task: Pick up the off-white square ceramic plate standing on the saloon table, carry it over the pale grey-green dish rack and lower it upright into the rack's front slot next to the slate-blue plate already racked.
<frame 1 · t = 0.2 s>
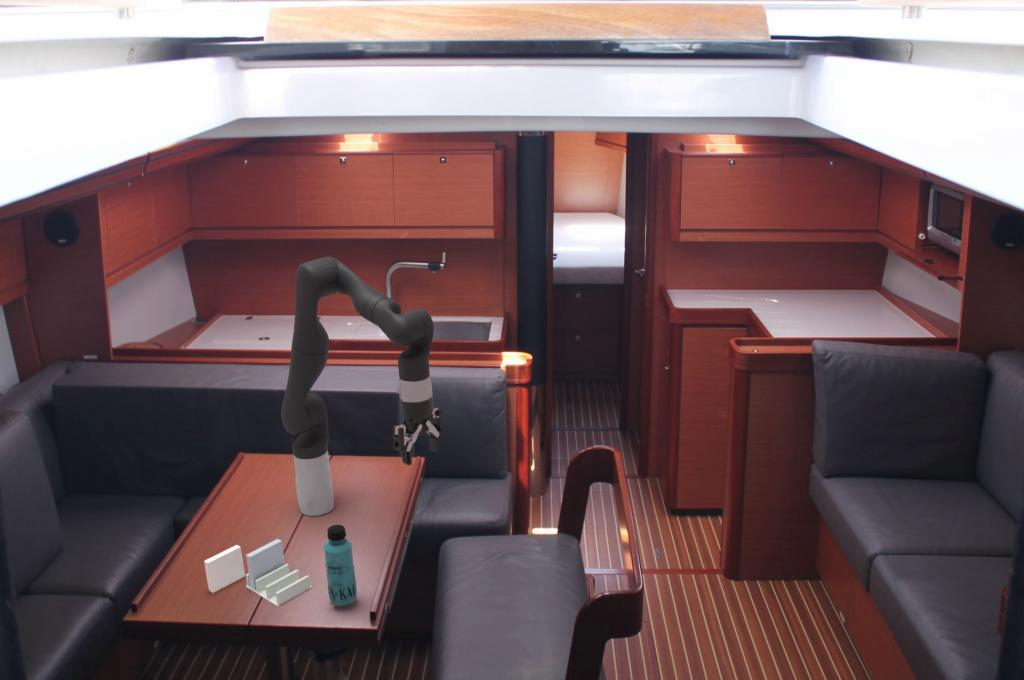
hand: (420, 457, 229), 29 cm above the table, fingers open, 8 cm apart
rack: (279, 589, 231), on the table
plate: (227, 586, 233), on the table
beverage bottle: (344, 604, 224), on the table
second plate: (268, 580, 233), point 1 cm above the table, touching rack
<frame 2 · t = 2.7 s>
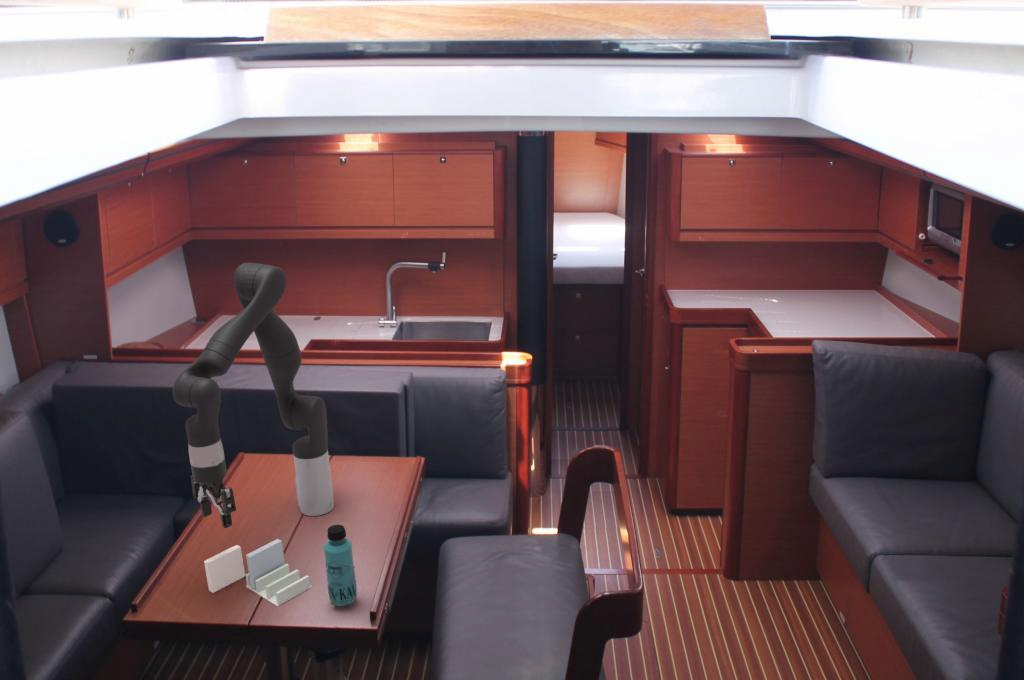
hand: (217, 520, 227), 18 cm above the table, fingers open, 8 cm apart
nothing on the table moved.
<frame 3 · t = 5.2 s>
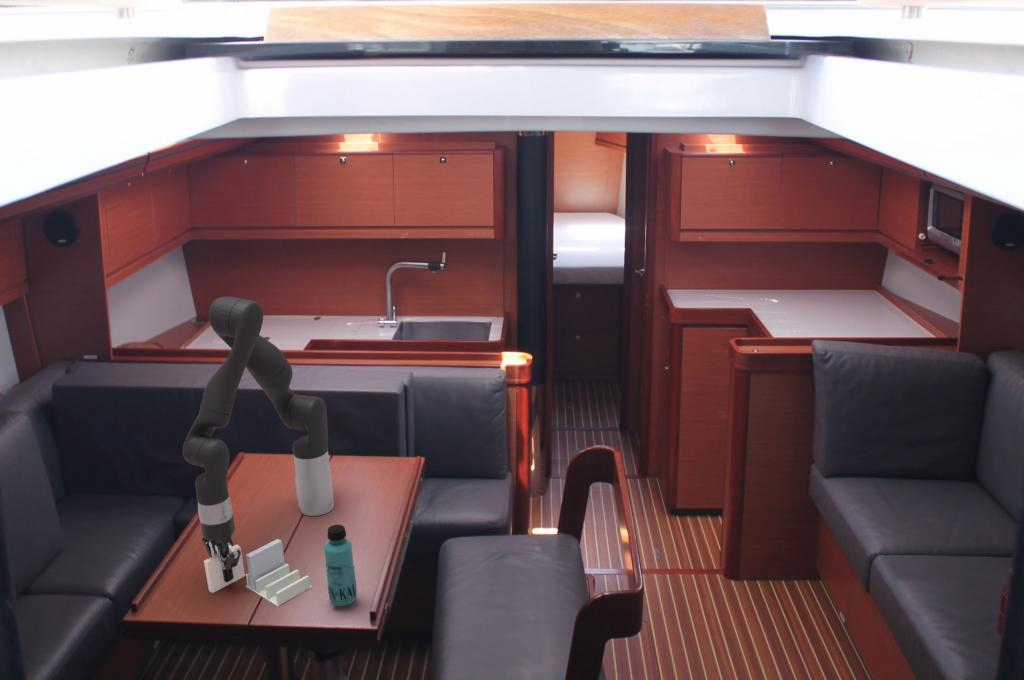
hand: (226, 578, 232), 2 cm above the table, fingers closed on plate, 1 cm apart
plate: (227, 586, 233), on the table, touching gripper
everything else where it was.
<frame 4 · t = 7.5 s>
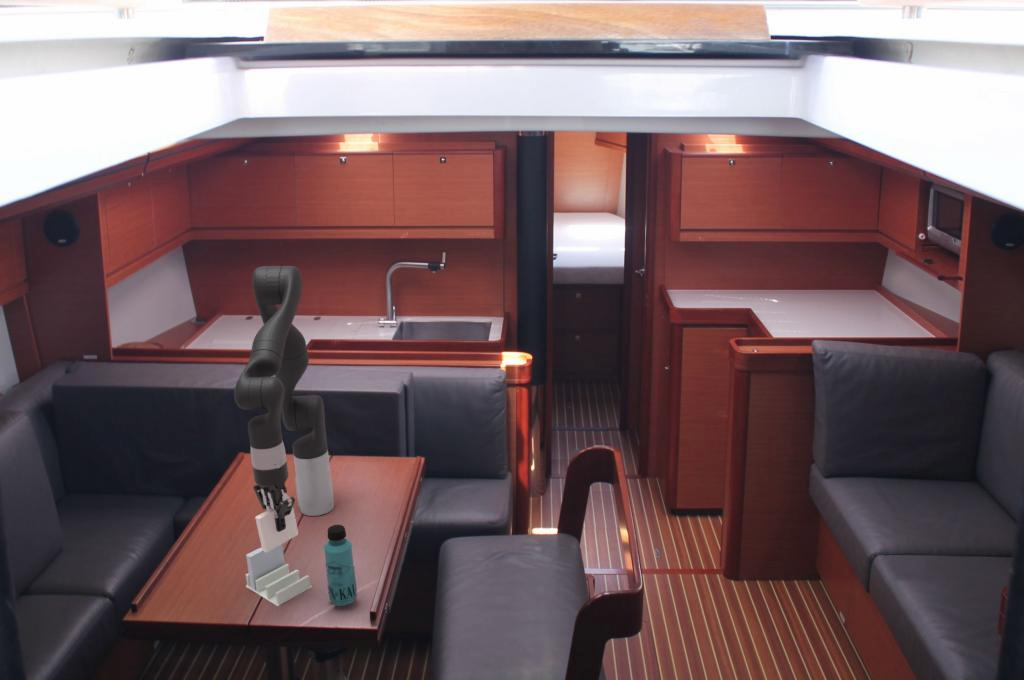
hand: (278, 528, 222), 18 cm above the table, fingers closed on plate, 1 cm apart
plate: (280, 542, 223), point 14 cm above the table, touching gripper
everything else where it was.
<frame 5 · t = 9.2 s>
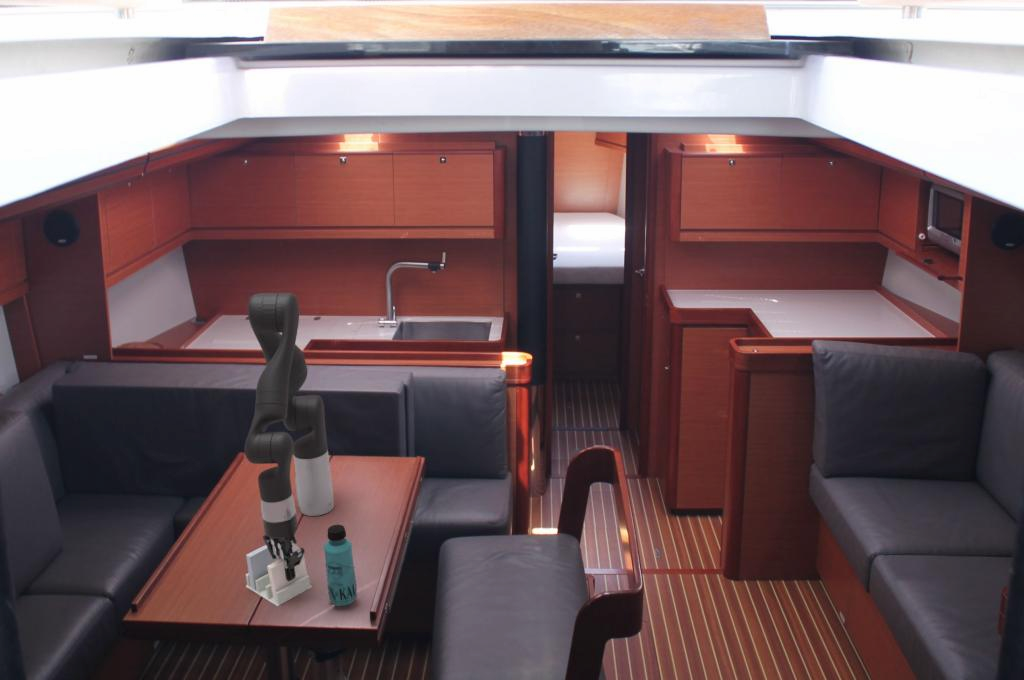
hand: (288, 577, 227), 5 cm above the table, fingers closed on plate
plate: (291, 590, 228), point 1 cm above the table, touching gripper, rack
everything else where it was.
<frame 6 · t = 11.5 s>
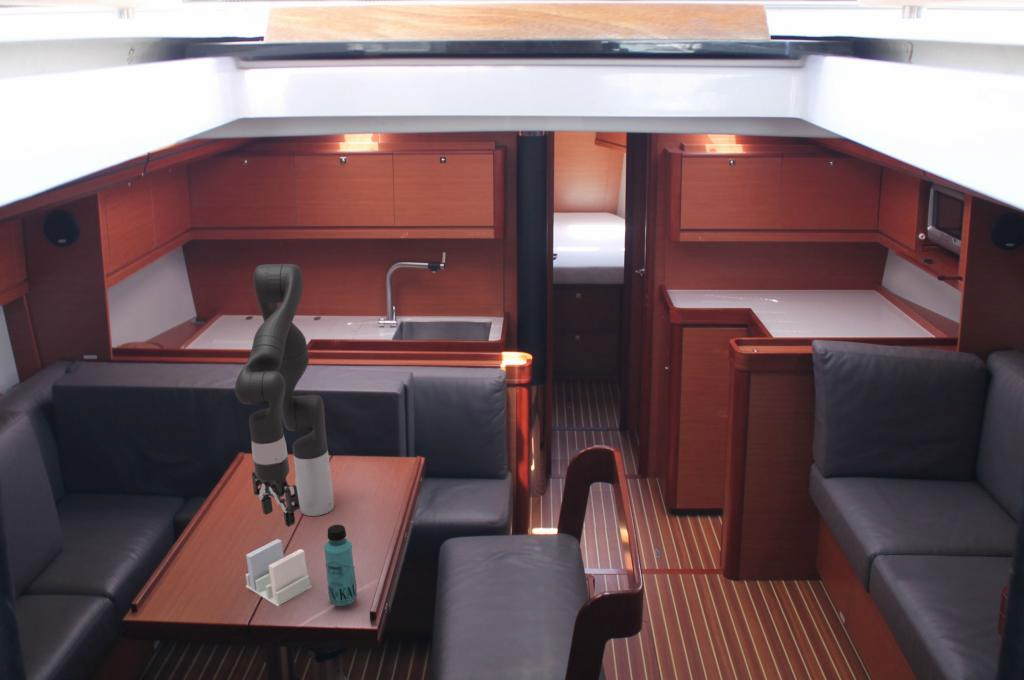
hand: (279, 518, 222), 20 cm above the table, fingers open, 8 cm apart
plate: (291, 591, 228), point 1 cm above the table, touching rack
everything else where it was.
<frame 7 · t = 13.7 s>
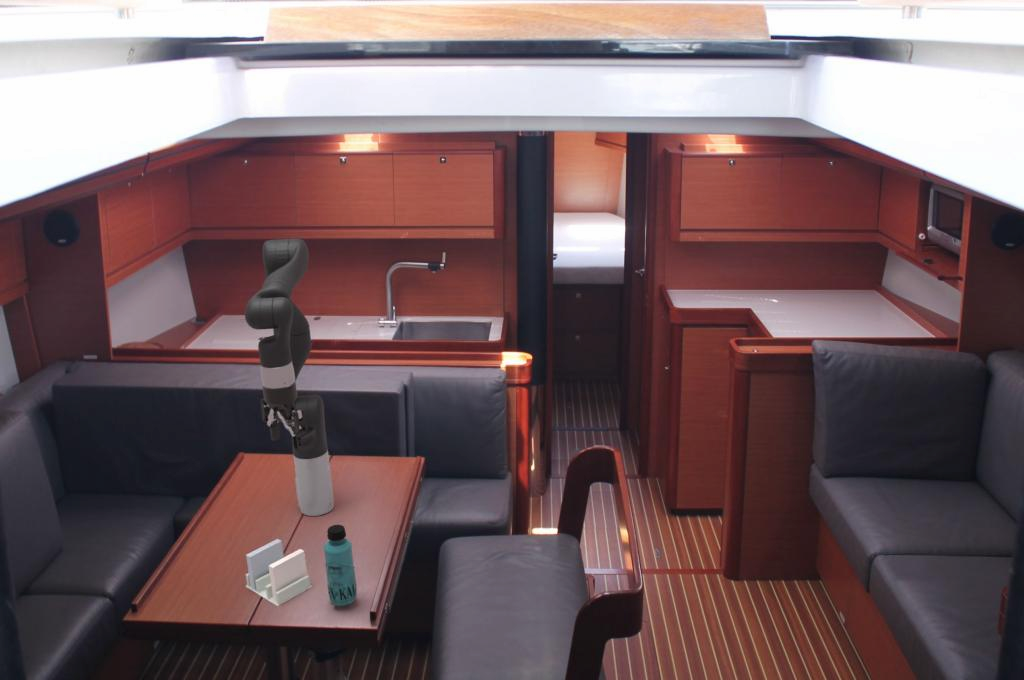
hand: (287, 444, 229), 33 cm above the table, fingers open, 8 cm apart
nothing on the table moved.
at the end: plate inside the target area on the rack (0.6 cm from its centre), point 0.8 cm above the rack's base; plate tilted 0°; the gripper is holding nothing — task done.
